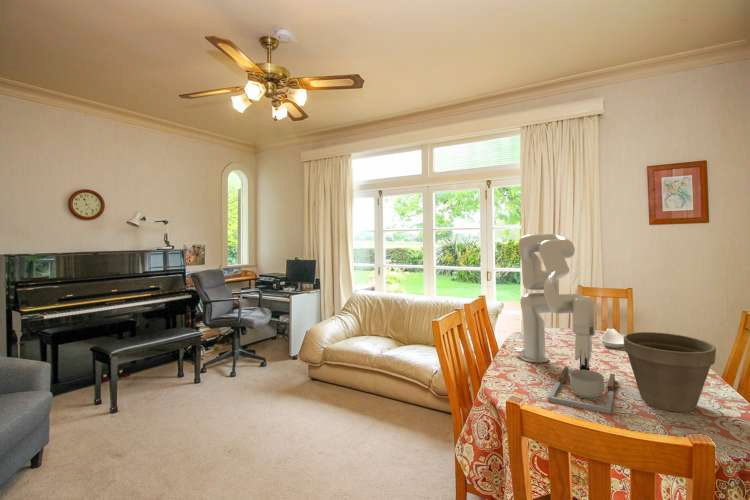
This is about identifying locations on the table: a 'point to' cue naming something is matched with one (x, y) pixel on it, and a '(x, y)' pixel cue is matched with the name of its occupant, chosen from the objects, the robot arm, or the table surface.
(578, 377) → the teacup
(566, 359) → the table surface
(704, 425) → the table surface
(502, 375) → the table surface
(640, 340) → the plant pot
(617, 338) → the white sneaker
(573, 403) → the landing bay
